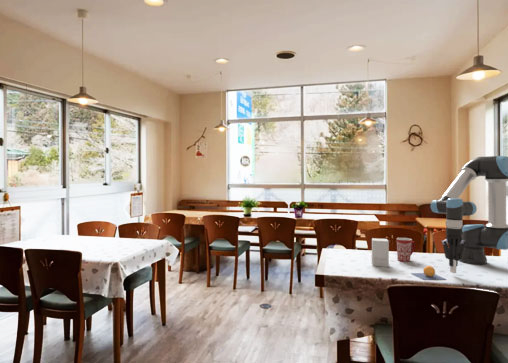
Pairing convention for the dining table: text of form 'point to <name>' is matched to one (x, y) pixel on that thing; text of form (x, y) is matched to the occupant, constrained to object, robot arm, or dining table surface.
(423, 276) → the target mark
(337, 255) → the dining table surface
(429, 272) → the ball
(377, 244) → the supplement box
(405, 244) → the mug
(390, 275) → the dining table surface
